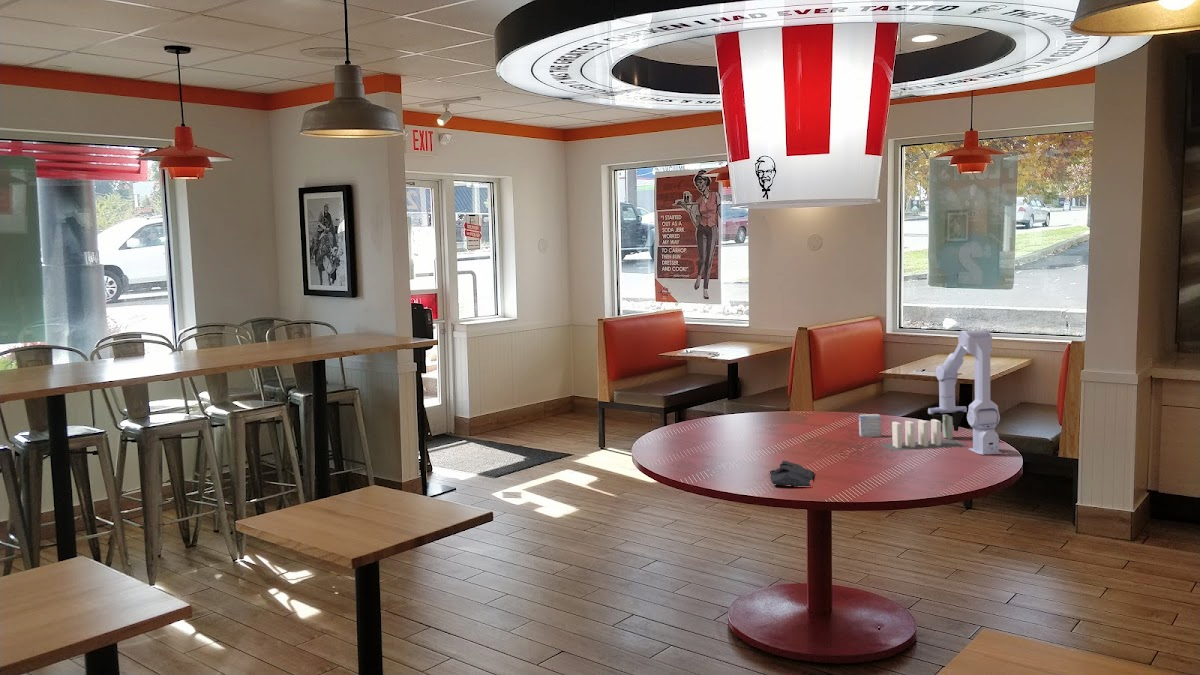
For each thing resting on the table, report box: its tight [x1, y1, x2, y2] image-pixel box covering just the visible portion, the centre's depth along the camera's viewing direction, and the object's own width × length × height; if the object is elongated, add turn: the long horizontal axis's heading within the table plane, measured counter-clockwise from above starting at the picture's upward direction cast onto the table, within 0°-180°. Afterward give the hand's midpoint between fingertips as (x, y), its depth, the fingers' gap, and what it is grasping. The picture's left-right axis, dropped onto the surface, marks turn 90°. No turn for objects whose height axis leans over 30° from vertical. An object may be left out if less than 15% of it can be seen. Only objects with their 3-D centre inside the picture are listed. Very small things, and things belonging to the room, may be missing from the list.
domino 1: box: [891, 421, 903, 448], centre depth 347 cm, size 2×5×9 cm, turn 4°
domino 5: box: [942, 414, 954, 440], centre depth 359 cm, size 2×5×9 cm, turn 4°
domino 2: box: [904, 420, 916, 447], centre depth 347 cm, size 2×5×9 cm, turn 4°
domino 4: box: [930, 418, 942, 446], centre depth 348 cm, size 2×5×9 cm, turn 4°
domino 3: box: [917, 419, 929, 446], centre depth 348 cm, size 2×5×9 cm, turn 3°
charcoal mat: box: [879, 439, 969, 452], centre depth 348 cm, size 12×29×1 cm, turn 94°
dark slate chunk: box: [769, 460, 815, 486], centre depth 307 cm, size 15×22×5 cm
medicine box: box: [858, 413, 882, 438], centre depth 370 cm, size 8×4×9 cm, turn 84°
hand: (947, 431), depth 359 cm, fingers open, 6 cm apart
